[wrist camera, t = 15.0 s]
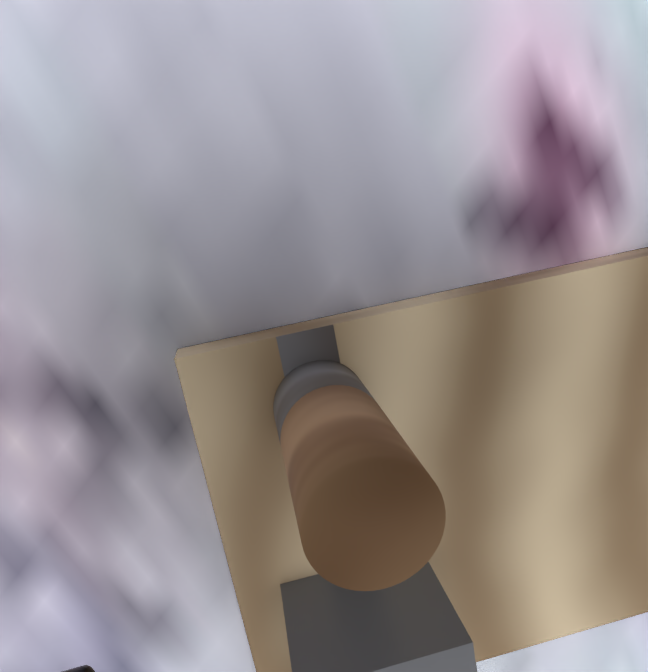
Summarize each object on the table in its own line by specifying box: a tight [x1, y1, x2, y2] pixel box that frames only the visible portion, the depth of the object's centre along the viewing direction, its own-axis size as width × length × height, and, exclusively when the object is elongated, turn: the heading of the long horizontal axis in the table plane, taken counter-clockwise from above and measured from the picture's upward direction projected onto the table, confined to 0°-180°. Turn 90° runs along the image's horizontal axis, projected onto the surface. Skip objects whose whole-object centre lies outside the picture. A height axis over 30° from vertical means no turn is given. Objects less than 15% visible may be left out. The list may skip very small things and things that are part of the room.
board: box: [174, 247, 648, 672], centre depth 21 cm, size 18×14×1 cm
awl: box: [273, 360, 446, 591], centre depth 15 cm, size 3×3×7 cm
